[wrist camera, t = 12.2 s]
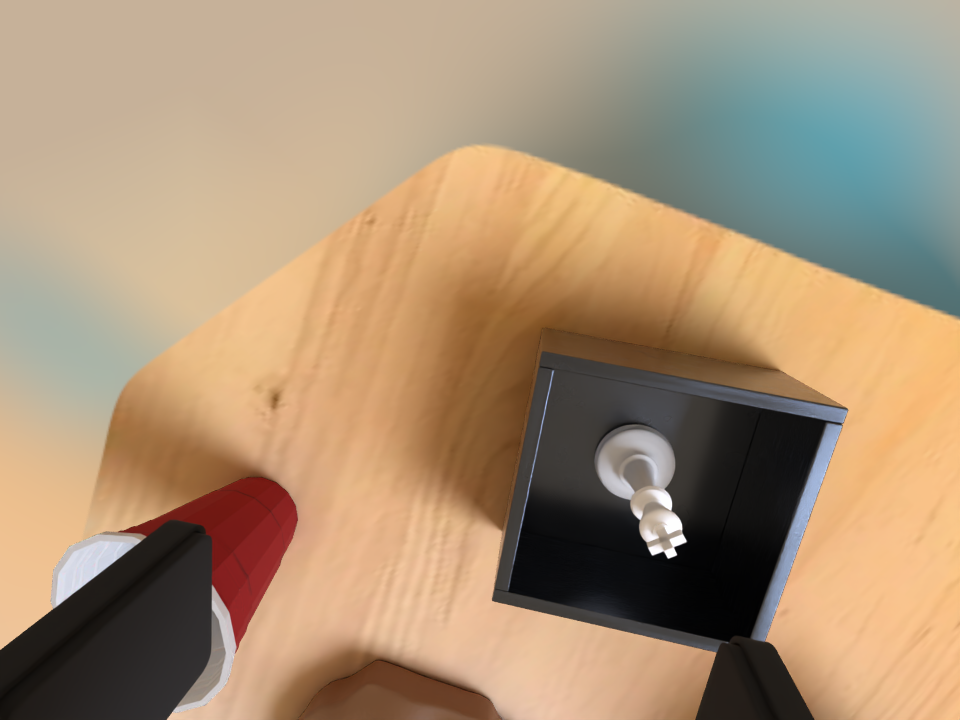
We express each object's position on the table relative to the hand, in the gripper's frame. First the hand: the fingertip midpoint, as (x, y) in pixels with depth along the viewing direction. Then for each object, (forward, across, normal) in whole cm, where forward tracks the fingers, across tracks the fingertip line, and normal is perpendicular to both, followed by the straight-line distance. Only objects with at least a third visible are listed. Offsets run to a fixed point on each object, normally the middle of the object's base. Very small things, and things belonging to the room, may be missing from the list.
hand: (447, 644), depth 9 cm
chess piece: (+24, -8, +6) cm, 26 cm away
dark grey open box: (+24, -8, +6) cm, 26 cm away
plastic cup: (+24, +17, +16) cm, 33 cm away
